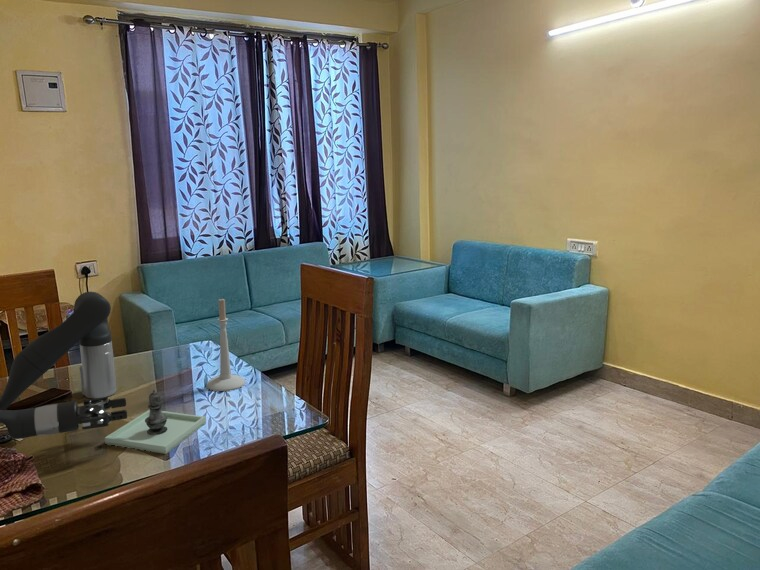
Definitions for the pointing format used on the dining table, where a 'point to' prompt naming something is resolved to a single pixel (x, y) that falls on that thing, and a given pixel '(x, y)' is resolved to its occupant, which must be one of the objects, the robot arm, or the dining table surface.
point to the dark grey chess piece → (156, 416)
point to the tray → (163, 443)
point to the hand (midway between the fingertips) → (126, 407)
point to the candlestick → (224, 360)
